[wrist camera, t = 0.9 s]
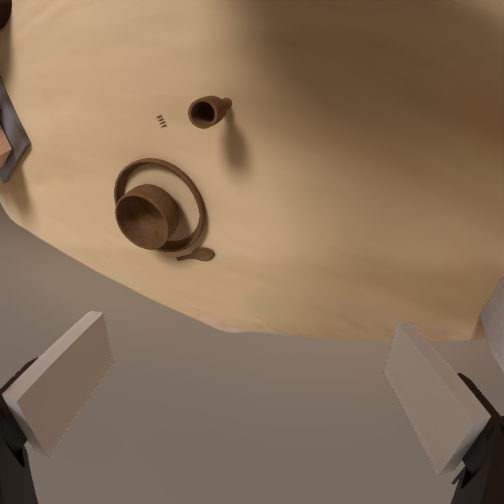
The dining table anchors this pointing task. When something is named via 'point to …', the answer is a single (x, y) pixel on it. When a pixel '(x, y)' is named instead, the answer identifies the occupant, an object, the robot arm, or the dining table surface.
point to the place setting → (164, 195)
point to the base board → (11, 134)
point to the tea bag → (495, 323)
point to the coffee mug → (4, 12)
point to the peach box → (3, 147)
